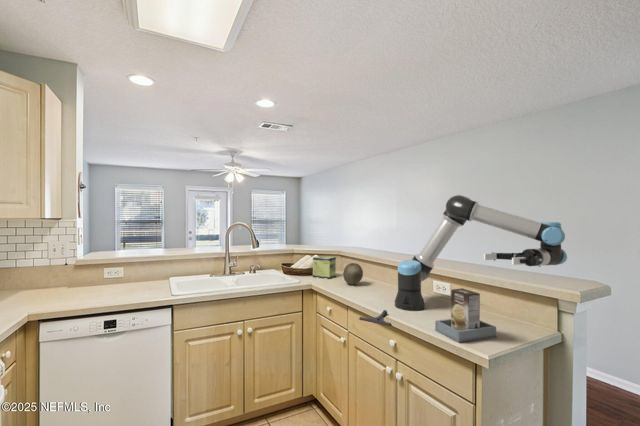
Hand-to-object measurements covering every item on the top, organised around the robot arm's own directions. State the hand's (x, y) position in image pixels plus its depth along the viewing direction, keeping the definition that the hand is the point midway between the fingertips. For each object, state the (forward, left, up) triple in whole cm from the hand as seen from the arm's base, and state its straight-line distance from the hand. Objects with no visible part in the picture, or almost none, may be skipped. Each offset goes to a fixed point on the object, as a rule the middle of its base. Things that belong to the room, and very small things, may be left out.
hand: (497, 258), depth 126 cm
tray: (0, -17, -29) cm, 34 cm away
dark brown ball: (-95, -23, -30) cm, 102 cm away
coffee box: (0, -17, -29) cm, 33 cm away
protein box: (-128, -33, -30) cm, 136 cm away
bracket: (-27, -40, -30) cm, 57 cm away
